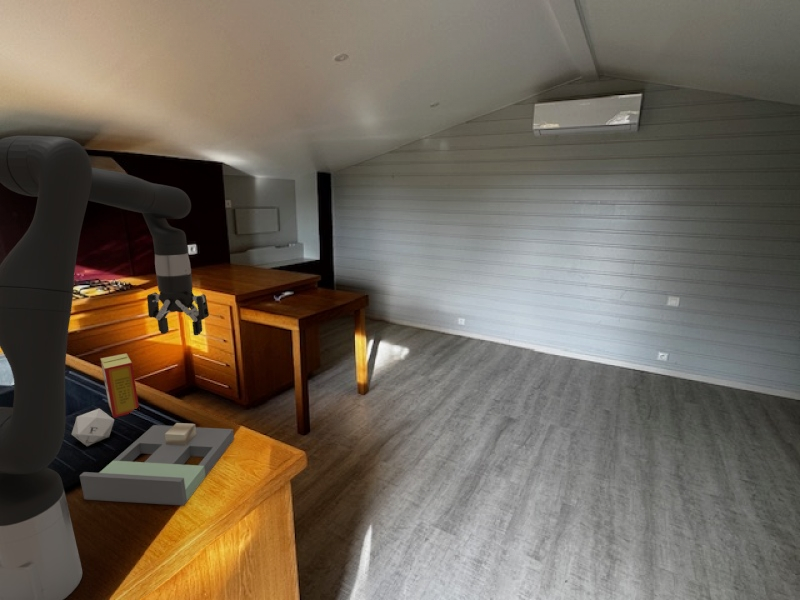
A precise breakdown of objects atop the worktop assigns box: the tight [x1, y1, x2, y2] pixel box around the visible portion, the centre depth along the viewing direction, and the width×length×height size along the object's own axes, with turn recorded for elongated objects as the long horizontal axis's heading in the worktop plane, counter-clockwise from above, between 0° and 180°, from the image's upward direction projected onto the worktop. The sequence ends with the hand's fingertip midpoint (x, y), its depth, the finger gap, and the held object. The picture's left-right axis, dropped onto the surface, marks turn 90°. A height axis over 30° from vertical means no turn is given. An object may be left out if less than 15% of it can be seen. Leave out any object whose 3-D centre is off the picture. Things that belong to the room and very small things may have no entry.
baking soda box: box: [99, 352, 140, 419], centre depth 121 cm, size 10×6×16 cm
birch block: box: [165, 422, 197, 446], centre depth 103 cm, size 5×5×3 cm
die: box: [71, 408, 115, 447], centre depth 106 cm, size 8×9×10 cm
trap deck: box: [79, 424, 235, 506], centre depth 97 cm, size 24×22×6 cm
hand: (181, 333), depth 103 cm, fingers open, 8 cm apart
